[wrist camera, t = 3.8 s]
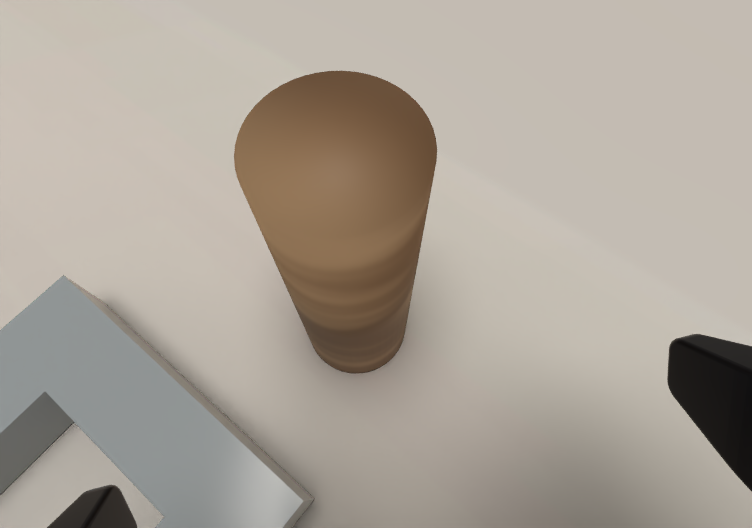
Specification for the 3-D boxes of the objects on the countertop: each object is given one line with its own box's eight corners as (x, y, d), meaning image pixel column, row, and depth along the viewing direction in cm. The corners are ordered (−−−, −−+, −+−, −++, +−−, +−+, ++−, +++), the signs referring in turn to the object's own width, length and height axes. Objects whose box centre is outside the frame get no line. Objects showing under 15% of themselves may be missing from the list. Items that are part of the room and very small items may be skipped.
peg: (363, 393, 20) (347, 279, 9) (289, 332, 21) (192, 160, 10) (424, 318, 21) (476, 135, 10) (351, 263, 22) (326, 42, 11)
